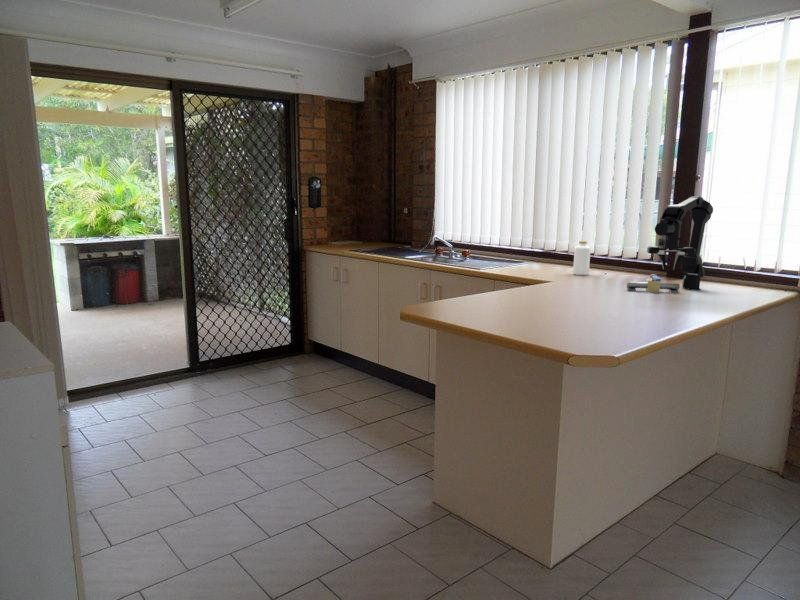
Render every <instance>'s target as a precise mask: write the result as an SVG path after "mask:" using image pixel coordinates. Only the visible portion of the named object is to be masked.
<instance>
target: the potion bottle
mask: <svg viewBox="0 0 800 600" xmlns="http://www.w3.org/2000/svg"><path fill="white" fill-rule="evenodd" d="M591 250H592V248H591V247H590V246H589V245H588V241H586V240H580V241H579V242H578V245H576V246H575V247H574V253H573V265H572V268H573V269H572V272H573V275H575V276H587V275H588V276H589V275H590V266H591V265H590V261H591Z"/></svg>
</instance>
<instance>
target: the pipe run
mask: <svg viewBox="0 0 800 600" xmlns="http://www.w3.org/2000/svg"><path fill="white" fill-rule="evenodd" d="M626 288H627V291H628V292H636V291H637V289H645V291H646V292H647V293H660V290H668V293H670V292H671V293H670V294H679V291H680V283H674V282H673V283H668V282H660V281H654V280H653V278H649V279H648V278H646V281H627V282H626Z"/></svg>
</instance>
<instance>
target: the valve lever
mask: <svg viewBox="0 0 800 600" xmlns="http://www.w3.org/2000/svg"><path fill="white" fill-rule="evenodd" d="M649 277H650V278H649V279H652V278H653V280H654V281H660V283H662V282H661V281H662V279H661V277H659V276H658V274H653V273H651V274H650V275H649Z"/></svg>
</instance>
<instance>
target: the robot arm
mask: <svg viewBox="0 0 800 600" xmlns="http://www.w3.org/2000/svg"><path fill="white" fill-rule="evenodd" d="M689 211H690V214H691V215H690V218H691V219H692V222H693V225H692V231H691V235H690V240H689V241H690V242H689V246H684V247H683V248H680V247H679V245H680V239H681V237H680V236H681V225H682V224H683V222H684V221H682V220H683V219H684V218H685V216H686V213H687V212H689ZM713 212H714V207H713V206H712V204H711V203H710V202H709V201H707V200H705V199H704V198H703V197H702V196H699V195H698V196H695V195H694V196H693V195H692V196H690V197H688V198H687V199H685V200H683V201H682V202H679V203H678V204H670V205H667V206H666V207H665V209H664V211H663V213H662V215H661V217H660V218H659V222H658V223H657V224H656V225H655V227H654V232H655V234H656V235H658V236H661V237H662V236H663V237H664V238H658V240H657V245H655V246H654V245H649V246H647V248H646V252H647V254H654V255H656V256H658V257H659V259H660V262H661V266H662V270H666V254H665V253H675V258H674V263H673V268H672V269H673V271H676V269H677V267H678V265H679V263H680V261H681V264H680V274H681V276H684V277H683V278H682V283H681V287H682V288H683V289H684V290H692V291H693V290H696V291H700V290H701V288H700V286H701V285H700V284H701V278H703V277H704V276H705V273H706V270H705V269H704V266H703V260H702V257H701V255H700V253H701V250H702V244H703V238H704V233H705V227H706V224H707V223H708V222H709V221H710V219H711V217H712V214H713Z"/></svg>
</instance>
